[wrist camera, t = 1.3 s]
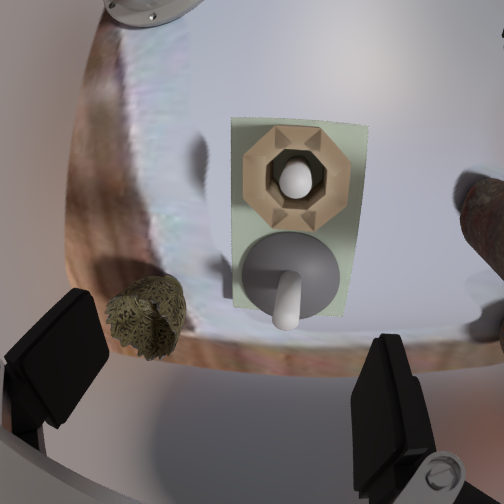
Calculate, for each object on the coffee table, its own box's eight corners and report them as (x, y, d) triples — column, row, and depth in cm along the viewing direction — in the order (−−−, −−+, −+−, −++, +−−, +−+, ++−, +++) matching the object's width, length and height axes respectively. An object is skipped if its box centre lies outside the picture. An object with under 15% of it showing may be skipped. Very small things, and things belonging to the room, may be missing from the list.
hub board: (235, 117, 24) (205, 117, 17) (365, 125, 23) (389, 128, 15) (236, 302, 32) (216, 354, 25) (340, 312, 30) (346, 367, 23)
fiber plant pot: (132, 289, 34) (96, 330, 27) (154, 243, 31) (114, 281, 24) (184, 325, 35) (158, 372, 28) (213, 283, 32) (187, 331, 24)
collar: (255, 123, 23) (243, 124, 18) (343, 129, 22) (353, 131, 17) (254, 206, 26) (242, 226, 21) (337, 212, 25) (343, 234, 20)
